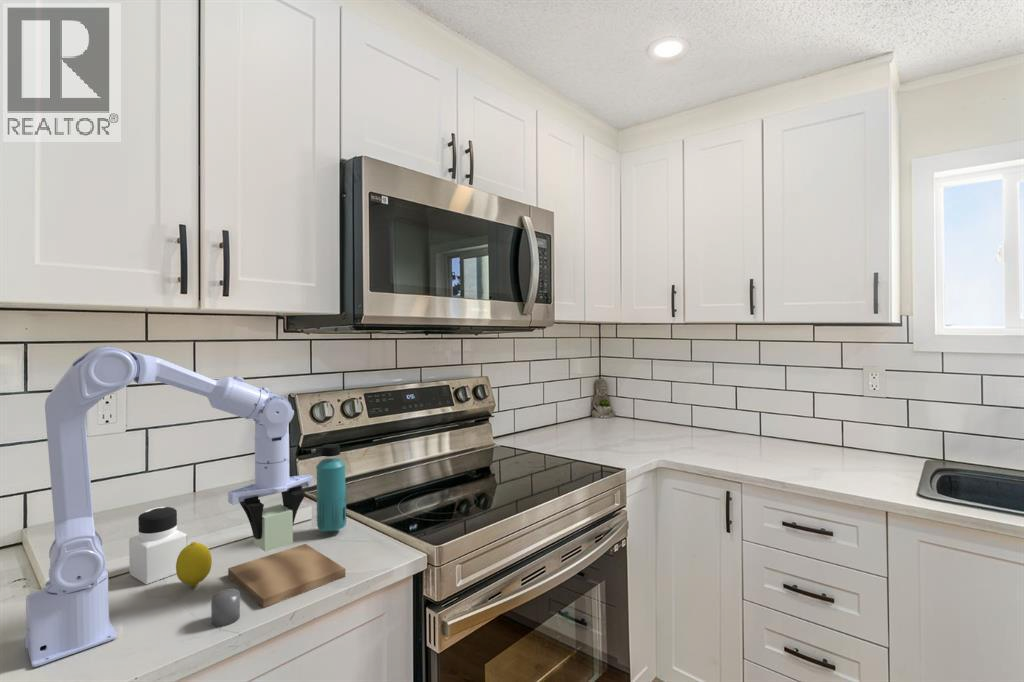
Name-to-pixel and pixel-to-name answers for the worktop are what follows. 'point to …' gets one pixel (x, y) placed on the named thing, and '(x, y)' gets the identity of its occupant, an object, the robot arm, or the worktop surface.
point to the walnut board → (285, 574)
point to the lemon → (193, 563)
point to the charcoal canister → (225, 607)
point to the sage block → (276, 528)
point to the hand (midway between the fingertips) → (273, 532)
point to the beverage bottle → (331, 490)
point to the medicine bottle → (156, 545)
